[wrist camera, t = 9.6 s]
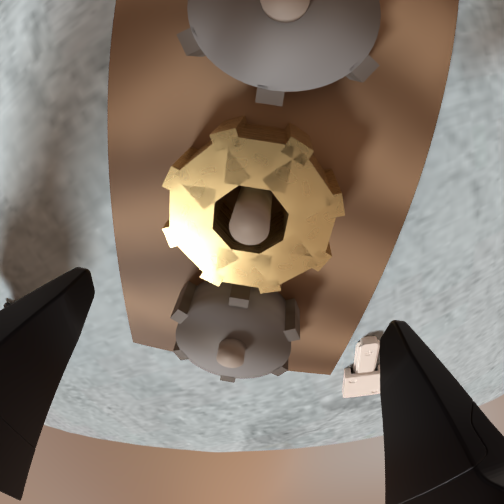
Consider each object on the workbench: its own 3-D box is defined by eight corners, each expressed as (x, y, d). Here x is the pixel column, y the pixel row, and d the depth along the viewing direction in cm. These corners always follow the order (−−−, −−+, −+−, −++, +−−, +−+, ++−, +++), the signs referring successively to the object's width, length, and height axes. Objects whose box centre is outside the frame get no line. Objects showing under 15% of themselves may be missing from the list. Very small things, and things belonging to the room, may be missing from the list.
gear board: (328, 355, 25) (333, 411, 20) (141, 324, 25) (118, 376, 20) (443, -15, 9) (498, -32, 4) (146, -61, 9) (96, -92, 4)
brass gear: (312, 265, 17) (316, 302, 15) (180, 243, 17) (163, 276, 15) (347, 134, 13) (363, 152, 11) (186, 109, 13) (163, 120, 11)
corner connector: (434, 321, 23) (440, 335, 21) (416, 374, 27) (419, 386, 26) (345, 333, 24) (348, 349, 23) (341, 384, 28) (343, 398, 27)
